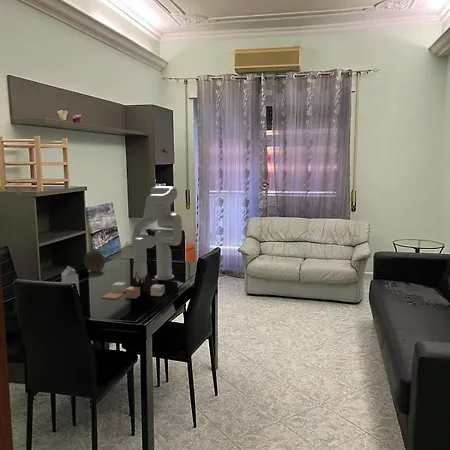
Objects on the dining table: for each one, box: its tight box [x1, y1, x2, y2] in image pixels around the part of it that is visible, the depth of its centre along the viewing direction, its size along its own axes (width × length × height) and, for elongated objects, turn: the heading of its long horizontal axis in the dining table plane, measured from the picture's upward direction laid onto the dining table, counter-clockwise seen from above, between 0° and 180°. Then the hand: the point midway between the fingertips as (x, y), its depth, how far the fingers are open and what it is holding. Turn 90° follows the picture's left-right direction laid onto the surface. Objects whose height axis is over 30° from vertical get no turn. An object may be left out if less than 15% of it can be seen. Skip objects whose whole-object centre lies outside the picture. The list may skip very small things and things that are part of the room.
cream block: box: [150, 284, 165, 297], centre depth 260 cm, size 6×6×5 cm
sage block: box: [111, 281, 128, 293], centre depth 266 cm, size 6×6×5 cm
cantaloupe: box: [83, 250, 106, 273], centre depth 313 cm, size 14×14×15 cm
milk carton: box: [60, 265, 80, 295], centre depth 248 cm, size 7×7×19 cm
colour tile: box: [101, 292, 125, 300], centre depth 257 cm, size 9×9×1 cm
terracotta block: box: [124, 286, 141, 299], centre depth 256 cm, size 6×6×5 cm
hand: (141, 288), depth 267 cm, fingers closed
